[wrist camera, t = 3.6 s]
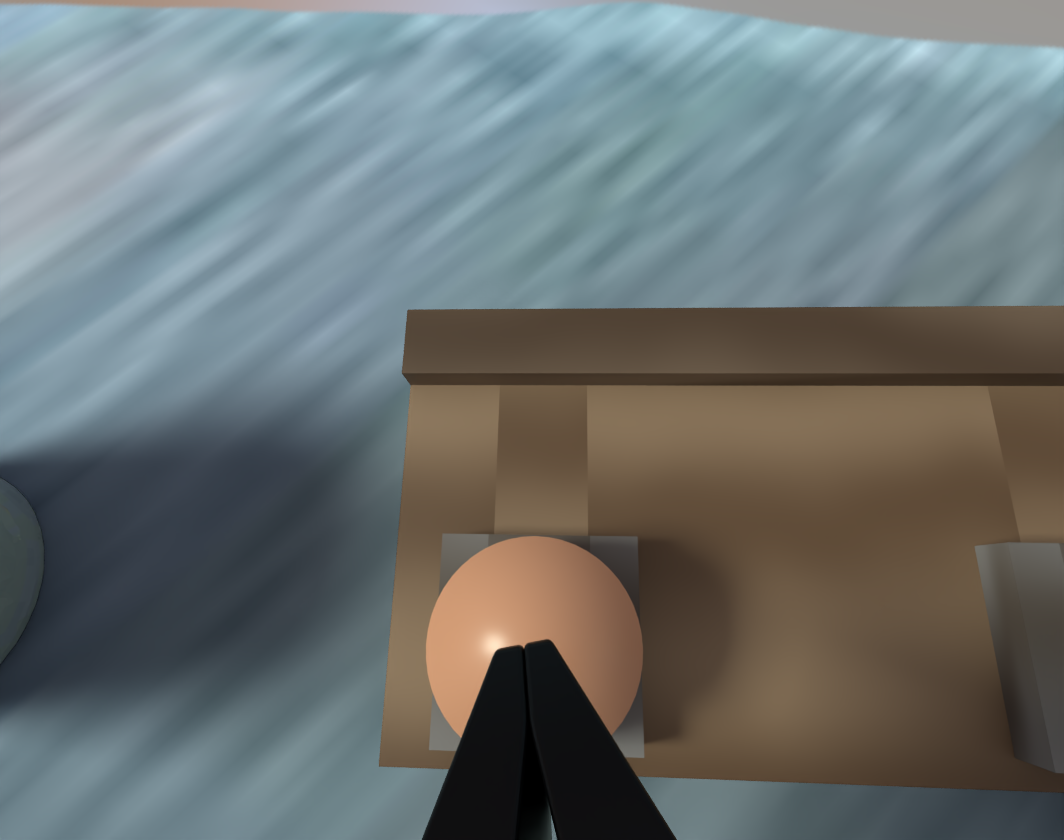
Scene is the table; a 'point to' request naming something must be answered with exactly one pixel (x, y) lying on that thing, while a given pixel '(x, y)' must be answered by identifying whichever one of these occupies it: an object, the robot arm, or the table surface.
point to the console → (764, 527)
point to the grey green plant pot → (17, 565)
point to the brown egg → (535, 624)
